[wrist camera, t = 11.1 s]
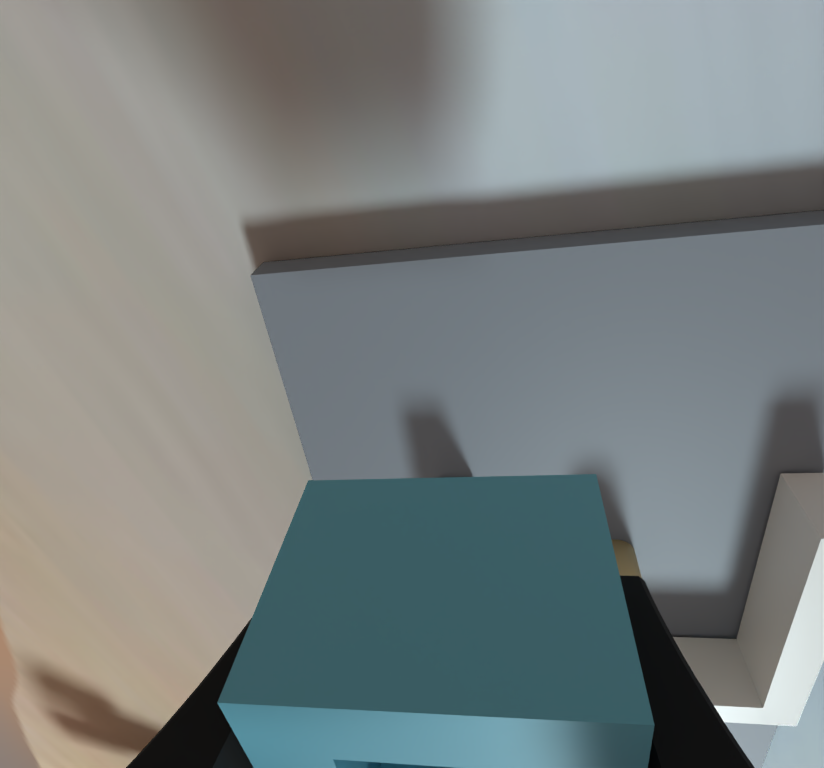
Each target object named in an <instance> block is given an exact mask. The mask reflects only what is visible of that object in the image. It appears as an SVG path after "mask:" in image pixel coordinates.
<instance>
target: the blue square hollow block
mask: <svg viewBox="0 0 824 768" xmlns="http://www.w3.org/2000/svg"><path fill="white" fill-rule="evenodd" d="M217 703H218V705H219V707H220V709H221V710H222V712H223V714H224V716H225V718H226V719H227V721H228V723H229V725H230V726H231V728H232V730H233V732H234V734H235V735H236V737H237V739H238V741H239V742H240V744H241V746H242V748H243V750H244V751H245V753H246V755H247V757H248V758H249V760H250V762H251V764H252V766H253V767H254V768H648V763H649V757H650V750H651V744H652V738H653V732H654V726H655V725H654V721H653V717H652V712H651V708H650V704H649V699H648V695H647V691H646V686H645V682H644V678H643V673H642V669H641V665H640V661H639V656H638V652H637V648H636V643H635V639H634V635H633V630H632V626H631V622H630V617H629V613H628V609H627V605H626V600H625V596H624V592H623V587H622V583H621V579H620V574H619V570H618V566H617V562H616V557H615V553H614V549H613V544H612V540H611V536H610V531H609V527H608V523H607V518H606V514H605V510H604V506H603V501H602V497H601V493H600V488H599V484H598V480H597V475H596V474H579V475H534V476H489V477H444V478H399V479H354V480H309V481H308V483H307V485H306V488H305V490H304V492H303V495H302V497H301V500H300V502H299V505H298V507H297V510H296V512H295V514H294V517H293V519H292V522H291V524H290V527H289V529H288V531H287V534H286V536H285V539H284V541H283V544H282V546H281V549H280V551H279V553H278V556H277V558H276V561H275V563H274V566H273V568H272V571H271V573H270V575H269V578H268V580H267V583H266V585H265V588H264V590H263V592H262V595H261V597H260V600H259V602H258V605H257V607H256V610H255V612H254V614H253V617H252V619H251V622H250V624H249V627H248V629H247V632H246V634H245V636H244V639H243V641H242V644H241V646H240V649H239V651H238V653H237V656H236V658H235V661H234V663H233V666H232V668H231V671H230V673H229V675H228V678H227V680H226V683H225V685H224V688H223V690H222V693H221V695H220V697H219V700H218V702H217Z"/></svg>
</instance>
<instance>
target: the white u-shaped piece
mask: <svg viewBox="0 0 824 768" xmlns="http://www.w3.org/2000/svg"><path fill="white" fill-rule="evenodd" d="M673 638H674V640H675V642H676V644H677V645H678V647H679V649H680V651H681V652H682V654H683V656H684V658H685V659H686V661H687V663H688V664H689V666H690V668H691V670H692V671H693V673H694V675H695V676H696V678H697V680H698V681H699V683H700V684H701V686H702V688H703V689H704V691H705V692H706V694H707V696H708V697H709V699H710V700H711V702H712V704H713V705H714V707H715V708H716V710H717V712H718V713H719V715H720V716H721V718H722V720H723V721H724V722H728V723H746V724H763V725H780V726H797V724H798V722H799V719H800V717H801V715H802V712H803V710H804V707H805V705H806V703H807V700H808V698H809V695H810V693H811V690H812V688H813V686H814V683H815V681H816V678H817V676H818V674H819V671H820V669H821V666H822V664H823V661H824V473H781V474H780V478H779V482H778V485H777V489H776V493H775V497H774V500H773V504H772V508H771V511H770V515H769V519H768V523H767V526H766V530H765V534H764V538H763V541H762V545H761V549H760V553H759V556H758V560H757V564H756V568H755V571H754V575H753V579H752V583H751V586H750V590H749V594H748V598H747V601H746V605H745V609H744V613H743V616H742V620H741V624H740V627H739V631H738V635H737V639H720V638H690V637H673Z"/></svg>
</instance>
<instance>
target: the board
mask: <svg viewBox="0 0 824 768" xmlns="http://www.w3.org/2000/svg"><path fill="white" fill-rule="evenodd" d="M251 278H252V282H253V285H254V288H255V292H256V295H257V298H258V301H259V305H260V308H261V311H262V315H263V318H264V321H265V324H266V328H267V331H268V334H269V338H270V341H271V344H272V348H273V351H274V354H275V357H276V361H277V364H278V367H279V371H280V374H281V377H282V380H283V384H284V387H285V390H286V394H287V397H288V400H289V403H290V407H291V410H292V413H293V417H294V420H295V423H296V427H297V430H298V433H299V436H300V440H301V443H302V446H303V450H304V453H305V456H306V459H307V463H308V466H309V469H310V473H311V476H312V479H313V480H354V479H399V478H444V477H489V476H534V475H579V474H596V475H597V480H598V484H599V488H600V493H601V497H602V501H603V506H604V510H605V514H606V518H607V523H608V527H609V531H610V536H611V540H612V544H613V549H614V553H615V557H616V562H617V566H618V570H619V574H620V576H639V577H641V578H642V579H643V580H644V581H645V583H646V585H647V587H648V589H649V592H650V594H651V596H652V598H653V600H654V602H655V604H656V606H657V608H658V610H659V612H660V614H661V616H662V618H663V620H664V622H665V623H666V625H667V627H668V629H669V631H670V633H671V635H672V636H673V637H690V638H720V639H737V635H738V631H739V627H740V624H741V620H742V616H743V613H744V609H745V605H746V601H747V598H748V594H749V590H750V586H751V583H752V579H753V575H754V571H755V568H756V564H757V560H758V556H759V553H760V549H761V545H762V541H763V538H764V534H765V530H766V526H767V523H768V519H769V515H770V511H771V508H772V504H773V500H774V497H775V493H776V489H777V485H778V482H779V478H780V474H781V473H824V210H821V211H811V212H800V213H789V214H778V215H767V216H757V217H746V218H735V219H724V220H714V221H703V222H692V223H681V224H671V225H660V226H649V227H638V228H628V229H617V230H606V231H595V232H585V233H574V234H563V235H552V236H542V237H531V238H520V239H509V240H499V241H488V242H477V243H466V244H456V245H445V246H434V247H423V248H412V249H402V250H391V251H380V252H369V253H359V254H348V255H337V256H326V257H316V258H305V259H294V260H283V261H273V262H263V263H262V264H261V265H260V266H259V267H258V268H257V269H256V270H255V271H254V272H253V273H252V274H251ZM724 723H725V724H726V726H727V727H728V729H729V730H730V732H731V733H732V735H733V736H734V738H735V739H736V741H737V742H738V744H739V745H740V747H741V748H742V750H743V751H744V753H745V754H746V756H747V757H748V759H749V760H750V761H751V763H752V764H753V766H754V767H755V768H762V766H763V763H764V761H765V758H766V755H767V753H768V750H769V748H770V745H771V742H772V740H773V737H774V734H775V732H776V729H777V727H778V725H763V724H746V723H728V722H724Z"/></svg>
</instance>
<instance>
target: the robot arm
mask: <svg viewBox="0 0 824 768" xmlns="http://www.w3.org/2000/svg"><path fill="white" fill-rule="evenodd" d="M620 579H621V583H622V587H623V592H624V596H625V600H626V605H627V609H628V613H629V617H630V622H631V626H632V630H633V635H634V639H635V643H636V648H637V652H638V656H639V661H640V665H641V669H642V673H643V678H644V682H645V686H646V691H647V695H648V699H649V704H650V708H651V712H652V717H653V721H654V725H655V726H654V732H653V738H652V744H651V750H650V757H649V763H648V768H755V767H754V766H753V764H752V763H751V761H750V760H749V759H748V757H747V756H746V754H745V753H744V751H743V750H742V748H741V747H740V745H739V744H738V742H737V741H736V739H735V738H734V736H733V735H732V733H731V732H730V730H729V729H728V727H727V726H726V724H725V723H724V721H723V720H722V718H721V716H720V715H719V713H718V712H717V710H716V708H715V707H714V705H713V704H712V702H711V700H710V699H709V697H708V696H707V694H706V692H705V691H704V689H703V688H702V686H701V684H700V683H699V681H698V680H697V678H696V676H695V675H694V673H693V671H692V670H691V668H690V666H689V664H688V663H687V661H686V659H685V658H684V656H683V654H682V652H681V651H680V649H679V647H678V645H677V644H676V642H675V640H674V638H673V636H672V635H671V633H670V631H669V629H668V627H667V625H666V623H665V622H664V620H663V618H662V616H661V614H660V612H659V610H658V608H657V606H656V604H655V602H654V600H653V598H652V596H651V594H650V592H649V589H648V587H647V585H646V583H645V581H644V580H643V579H642V578H641V577H639V576H620ZM251 619H252V618H251ZM250 622H251V620H250V621H249V622H248V623H247V625H246V626H245V627H244V629H243V630H242V631H241V633H240V634H239V635H238V637H237V638H236V639H235V641H234V642H233V643H232V644H231V646H230V647H229V648H228V649H227V651H226V652H225V653H224V655H223V656H222V657H221V658H220V660H219V661H218V662H217V663H216V665H215V666H214V667H213V668H212V670H211V671H210V672H209V674H208V675H207V676H206V677H205V678H204V680H203V681H202V682H201V683H200V685H199V686H198V687H197V688H196V689H195V691H194V692H193V693H192V694H191V695H190V696H189V698H188V699H187V700H186V701H185V702H184V703H183V705H182V706H181V707H180V708H179V709H178V710H177V712H176V713H175V714H174V715H173V716H172V717H171V719H170V720H169V721H168V722H167V723H166V724H165V726H164V727H163V728H162V729H161V730H160V731H159V732H158V734H157V735H156V736H155V737H154V738H153V739H152V740H151V741H150V742H149V744H148V745H147V746H146V747H145V748H144V749H143V750H142V751H141V752H140V753H139V754H138V756H137V757H136V758H135V759H134V760H133V761H132V762H131V763H130V764H129V765H128V766H127V767H126V768H254V767H253V766H252V764H251V762H250V760H249V758H248V757H247V755H246V753H245V751H244V750H243V748H242V746H241V744H240V742H239V741H238V739H237V737H236V735H235V734H234V732H233V730H232V728H231V726H230V725H229V723H228V721H227V719H226V718H225V716H224V714H223V712H222V710H221V709H220V707H219V705H218V703H217V702H218V700H219V697H220V695H221V693H222V690H223V688H224V685H225V683H226V680H227V678H228V675H229V673H230V671H231V668H232V666H233V663H234V661H235V658H236V656H237V653H238V651H239V649H240V646H241V644H242V641H243V639H244V636H245V634H246V632H247V629H248V627H249V624H250Z"/></svg>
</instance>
